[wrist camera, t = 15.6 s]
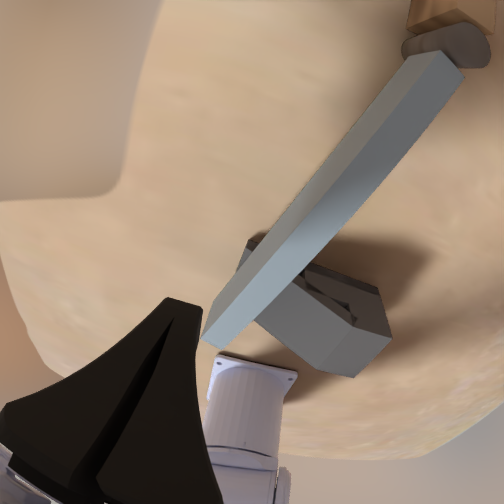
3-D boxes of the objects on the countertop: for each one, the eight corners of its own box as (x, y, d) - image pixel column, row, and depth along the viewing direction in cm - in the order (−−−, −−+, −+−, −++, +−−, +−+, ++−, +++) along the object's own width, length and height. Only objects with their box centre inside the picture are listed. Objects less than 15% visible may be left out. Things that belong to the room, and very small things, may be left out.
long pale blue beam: (232, 311, 20) (221, 349, 17) (213, 300, 19) (200, 338, 17) (430, 76, 10) (465, 77, 7) (408, 56, 10) (440, 49, 7)
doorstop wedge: (377, 287, 20) (392, 338, 15) (347, 327, 22) (353, 378, 18) (248, 239, 19) (234, 287, 15) (229, 288, 21) (213, 338, 17)
